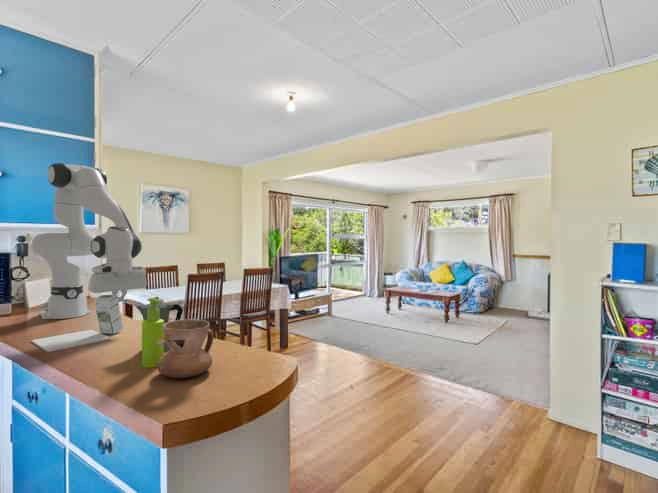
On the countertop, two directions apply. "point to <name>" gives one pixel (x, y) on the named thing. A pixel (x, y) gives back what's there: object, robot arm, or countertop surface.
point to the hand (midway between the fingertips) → (119, 301)
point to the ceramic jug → (185, 348)
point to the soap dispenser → (152, 336)
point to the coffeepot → (162, 313)
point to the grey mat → (70, 340)
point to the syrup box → (108, 314)
